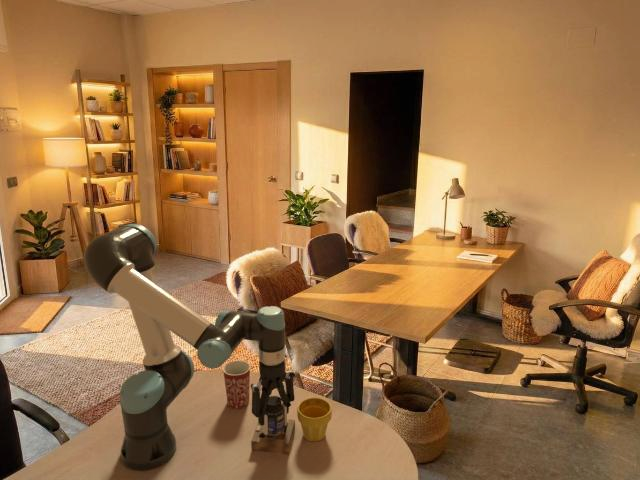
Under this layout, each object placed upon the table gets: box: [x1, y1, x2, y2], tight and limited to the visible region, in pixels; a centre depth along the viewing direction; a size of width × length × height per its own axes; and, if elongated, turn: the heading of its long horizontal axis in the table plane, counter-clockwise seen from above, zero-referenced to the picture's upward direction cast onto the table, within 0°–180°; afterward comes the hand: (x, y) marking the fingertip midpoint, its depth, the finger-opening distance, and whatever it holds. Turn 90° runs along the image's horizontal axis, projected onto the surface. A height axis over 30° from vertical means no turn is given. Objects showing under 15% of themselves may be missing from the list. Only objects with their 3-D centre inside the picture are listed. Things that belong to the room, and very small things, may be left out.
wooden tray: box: [250, 418, 296, 455], centre depth 147 cm, size 11×11×4 cm
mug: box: [222, 360, 252, 410], centre depth 165 cm, size 13×9×14 cm
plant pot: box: [296, 396, 333, 442], centre depth 148 cm, size 10×10×10 cm
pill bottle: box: [265, 395, 285, 439], centre depth 145 cm, size 6×6×11 cm
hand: (274, 427), depth 146 cm, fingers closed on pill bottle, 6 cm apart
